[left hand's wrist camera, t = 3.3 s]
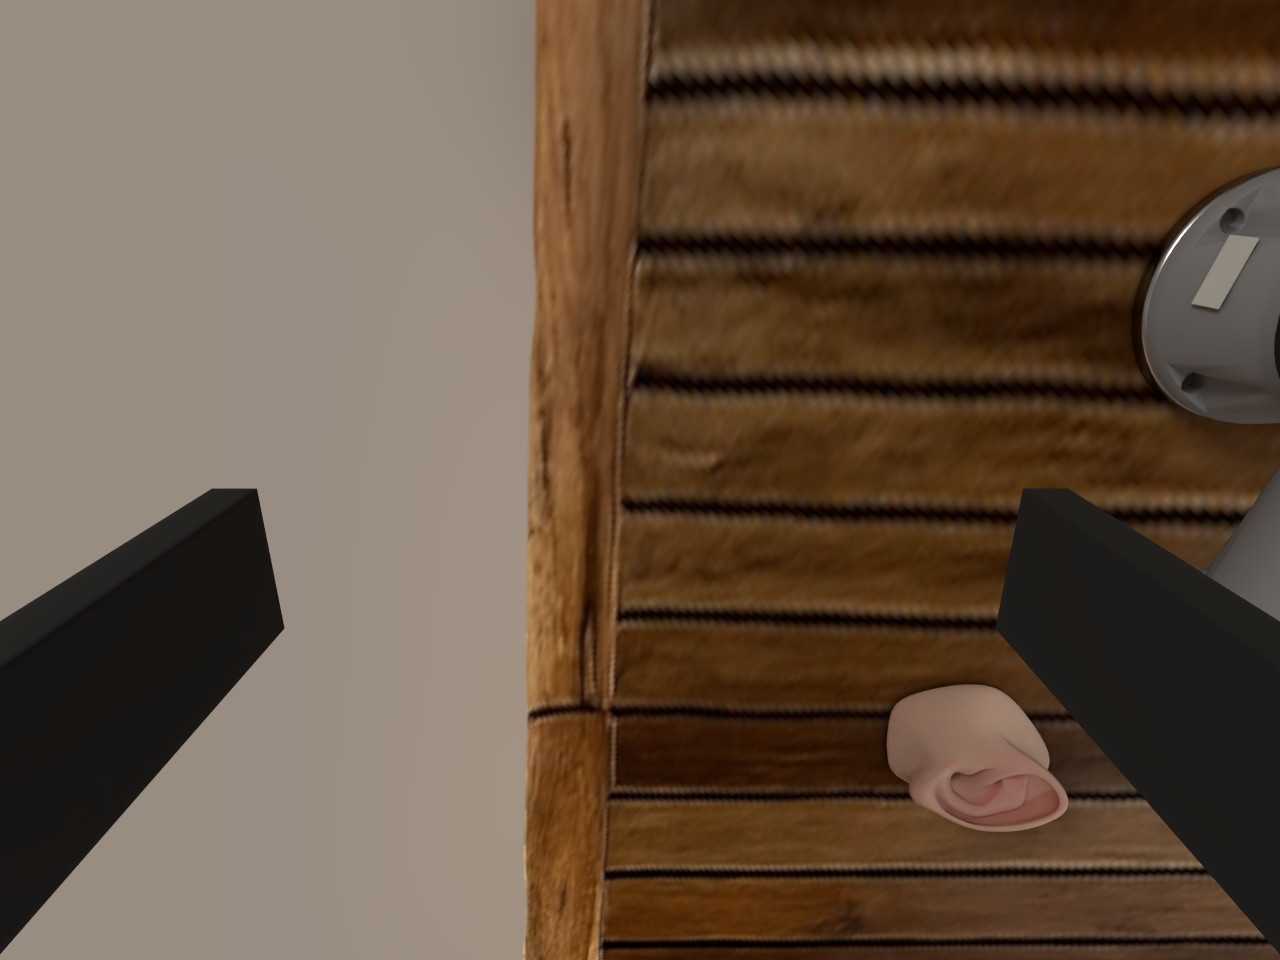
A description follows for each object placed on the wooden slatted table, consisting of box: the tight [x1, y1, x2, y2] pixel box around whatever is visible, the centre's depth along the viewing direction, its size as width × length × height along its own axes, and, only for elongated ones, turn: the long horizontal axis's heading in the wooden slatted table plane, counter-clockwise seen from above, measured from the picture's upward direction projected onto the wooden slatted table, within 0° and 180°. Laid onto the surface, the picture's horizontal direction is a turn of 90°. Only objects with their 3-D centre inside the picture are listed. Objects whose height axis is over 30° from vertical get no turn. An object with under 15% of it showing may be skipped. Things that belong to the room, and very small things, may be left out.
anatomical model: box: [887, 684, 1068, 832], centre depth 54 cm, size 13×4×12 cm
